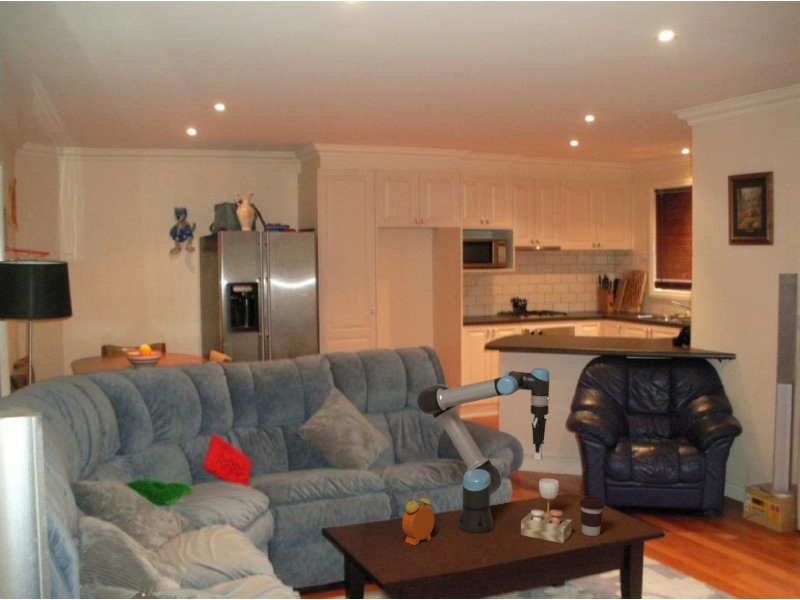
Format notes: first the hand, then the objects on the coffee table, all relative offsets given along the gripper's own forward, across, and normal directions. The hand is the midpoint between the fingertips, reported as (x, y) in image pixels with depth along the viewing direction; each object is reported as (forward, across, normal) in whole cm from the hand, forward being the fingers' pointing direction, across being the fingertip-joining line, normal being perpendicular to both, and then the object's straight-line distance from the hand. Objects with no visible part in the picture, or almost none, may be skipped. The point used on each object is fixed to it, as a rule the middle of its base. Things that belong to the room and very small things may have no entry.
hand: (538, 458), depth 321 cm
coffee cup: (+30, +3, -23) cm, 38 cm away
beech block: (+29, -8, -7) cm, 31 cm away
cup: (+30, +14, -1) cm, 33 cm away
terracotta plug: (+27, -8, -11) cm, 30 cm away
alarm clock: (+30, -42, +36) cm, 63 cm away
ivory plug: (+29, -8, -3) cm, 30 cm away
